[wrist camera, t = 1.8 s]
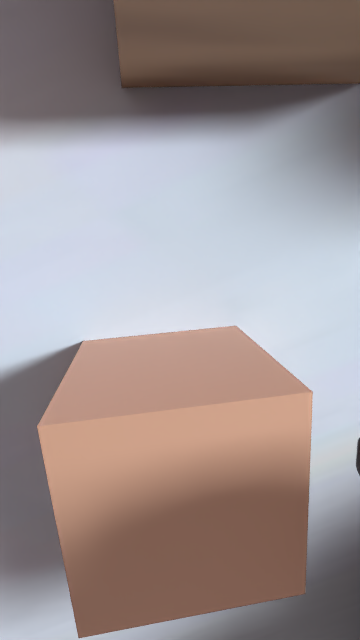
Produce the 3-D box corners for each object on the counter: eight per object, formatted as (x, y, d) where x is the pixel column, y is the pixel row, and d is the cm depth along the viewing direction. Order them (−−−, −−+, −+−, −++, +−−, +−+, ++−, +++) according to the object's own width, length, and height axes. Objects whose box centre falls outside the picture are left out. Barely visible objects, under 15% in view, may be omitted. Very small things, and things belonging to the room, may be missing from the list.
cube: (238, 453, 12) (305, 594, 7) (103, 473, 12) (78, 638, 7) (235, 325, 11) (312, 391, 6) (83, 340, 10) (37, 426, 6)
